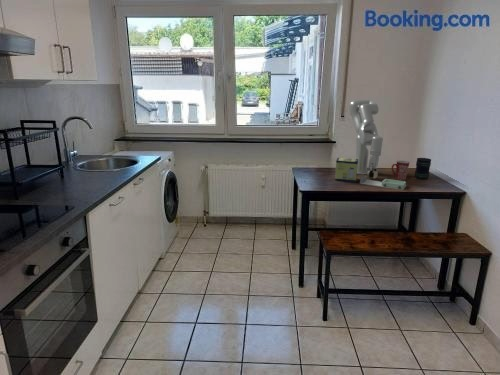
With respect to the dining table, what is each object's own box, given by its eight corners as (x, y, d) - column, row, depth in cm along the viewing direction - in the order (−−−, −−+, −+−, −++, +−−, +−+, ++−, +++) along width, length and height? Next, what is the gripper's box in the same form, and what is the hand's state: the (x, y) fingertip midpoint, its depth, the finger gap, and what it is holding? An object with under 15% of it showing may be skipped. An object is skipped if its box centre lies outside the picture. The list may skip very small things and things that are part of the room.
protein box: (336, 177, 264) (337, 157, 259) (356, 178, 259) (358, 158, 254) (334, 180, 254) (335, 160, 250) (356, 182, 249) (357, 161, 245)
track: (359, 183, 246) (360, 178, 245) (364, 179, 256) (365, 174, 255) (403, 190, 230) (403, 184, 229) (406, 185, 240) (407, 180, 239)
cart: (381, 185, 238) (381, 182, 237) (385, 182, 247) (385, 178, 246) (402, 189, 230) (402, 185, 230) (405, 185, 240) (406, 181, 239)
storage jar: (430, 180, 253) (433, 160, 249) (416, 179, 255) (418, 160, 251) (426, 176, 263) (429, 158, 258) (412, 176, 264) (415, 157, 260)
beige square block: (366, 176, 257) (367, 171, 256) (369, 175, 262) (370, 170, 260) (374, 178, 254) (375, 173, 253) (377, 176, 258) (378, 171, 257)
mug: (403, 177, 261) (406, 160, 257) (409, 180, 253) (412, 162, 249) (387, 177, 261) (389, 160, 257) (392, 180, 252) (395, 163, 248)
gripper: (373, 150, 260) (370, 172, 266) (366, 154, 247) (363, 178, 253) (383, 151, 256) (380, 173, 262) (377, 156, 243) (374, 179, 249)
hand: (372, 175), depth 258 cm, fingers closed on beige square block, 6 cm apart
